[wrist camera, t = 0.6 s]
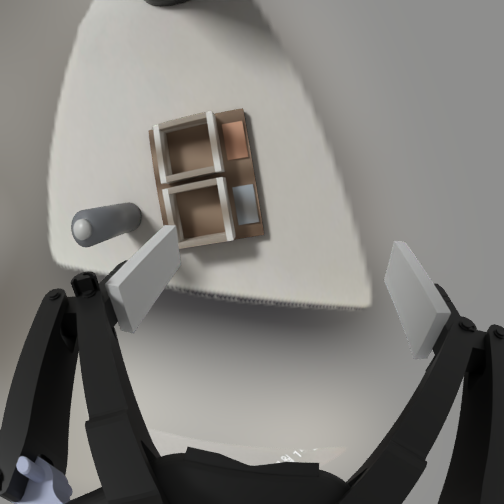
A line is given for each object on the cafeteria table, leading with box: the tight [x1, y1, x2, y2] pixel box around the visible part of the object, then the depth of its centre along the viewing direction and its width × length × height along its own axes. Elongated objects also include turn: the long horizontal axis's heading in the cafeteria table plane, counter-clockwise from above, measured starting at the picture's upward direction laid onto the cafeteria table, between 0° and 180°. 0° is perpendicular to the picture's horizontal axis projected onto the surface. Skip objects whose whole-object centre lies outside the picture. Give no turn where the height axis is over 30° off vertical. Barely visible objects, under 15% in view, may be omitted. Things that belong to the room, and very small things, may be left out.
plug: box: [71, 203, 141, 247], centre depth 33 cm, size 4×4×13 cm
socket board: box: [149, 108, 264, 249], centre depth 36 cm, size 18×14×4 cm
